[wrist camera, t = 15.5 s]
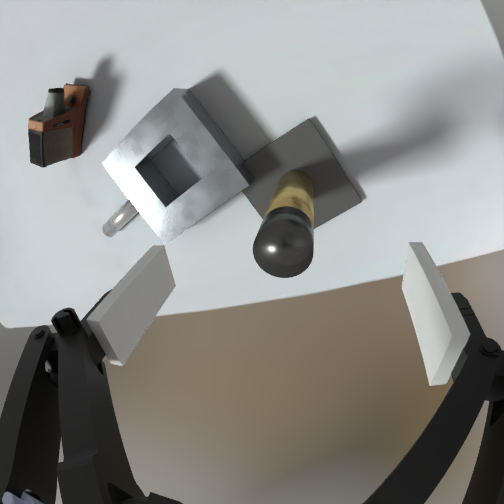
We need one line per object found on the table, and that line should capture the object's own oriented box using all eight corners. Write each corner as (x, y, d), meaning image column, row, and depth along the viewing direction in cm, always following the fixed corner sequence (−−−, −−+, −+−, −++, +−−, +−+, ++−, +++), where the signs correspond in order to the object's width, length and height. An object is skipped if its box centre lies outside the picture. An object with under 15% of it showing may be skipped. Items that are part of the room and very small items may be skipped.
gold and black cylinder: (276, 171, 29) (249, 224, 17) (312, 169, 28) (312, 223, 16) (279, 204, 31) (256, 277, 19) (314, 203, 30) (313, 277, 18)
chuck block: (188, 89, 27) (174, 88, 24) (255, 176, 31) (249, 185, 28) (87, 193, 35) (71, 202, 32) (139, 260, 39) (127, 274, 36)
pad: (308, 118, 27) (308, 118, 26) (360, 200, 30) (361, 201, 29) (229, 171, 31) (228, 173, 30) (283, 244, 34) (282, 246, 33)
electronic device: (93, 85, 28) (50, 89, 22) (82, 156, 33) (43, 172, 27) (70, 82, 28) (28, 87, 22) (61, 149, 33) (22, 164, 27)
